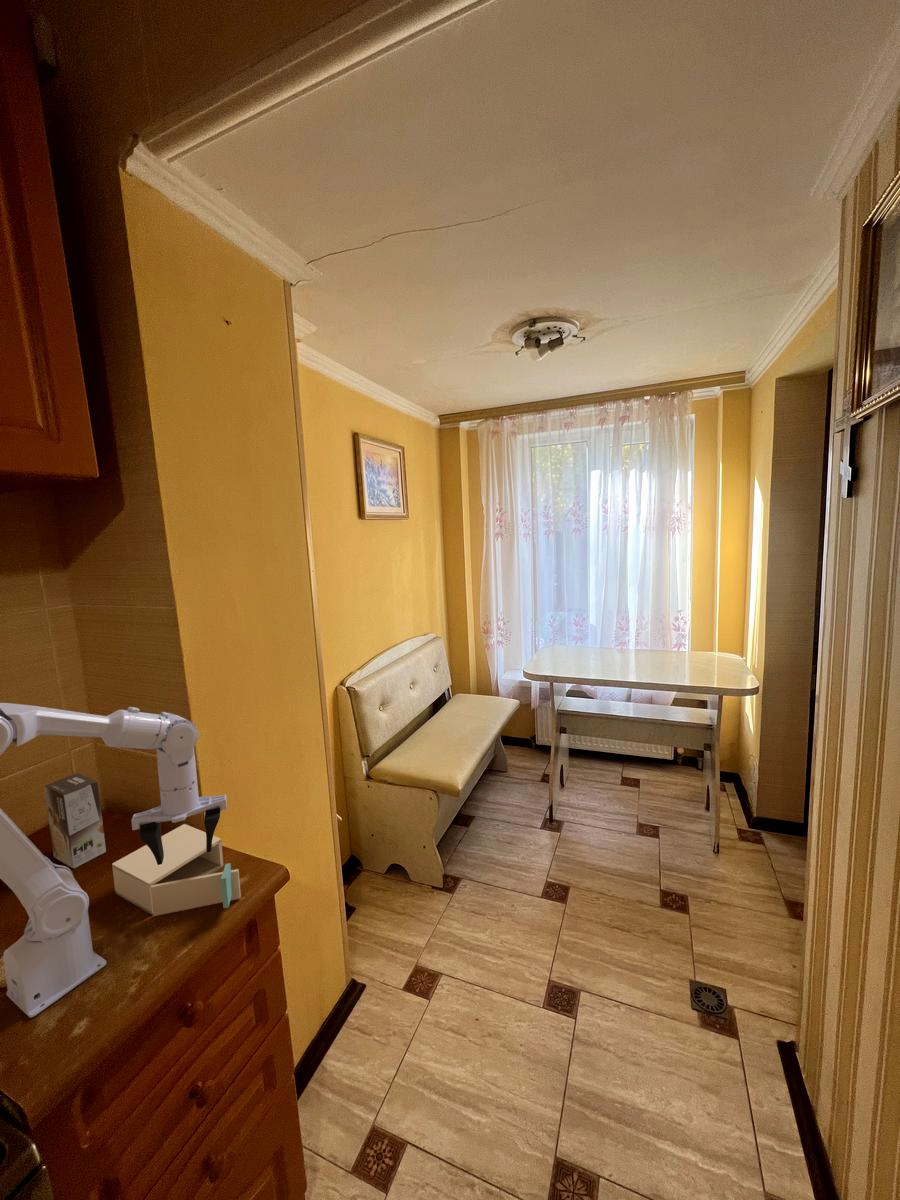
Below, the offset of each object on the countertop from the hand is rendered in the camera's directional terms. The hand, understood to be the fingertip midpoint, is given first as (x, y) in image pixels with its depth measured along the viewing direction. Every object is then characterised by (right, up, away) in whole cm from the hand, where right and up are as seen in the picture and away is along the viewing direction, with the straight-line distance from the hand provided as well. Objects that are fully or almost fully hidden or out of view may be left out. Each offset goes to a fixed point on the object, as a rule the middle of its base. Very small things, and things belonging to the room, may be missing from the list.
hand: (185, 854), depth 83 cm
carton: (-7, -9, +7) cm, 13 cm away
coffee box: (-32, -9, +16) cm, 37 cm away
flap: (+3, -9, -2) cm, 10 cm away
